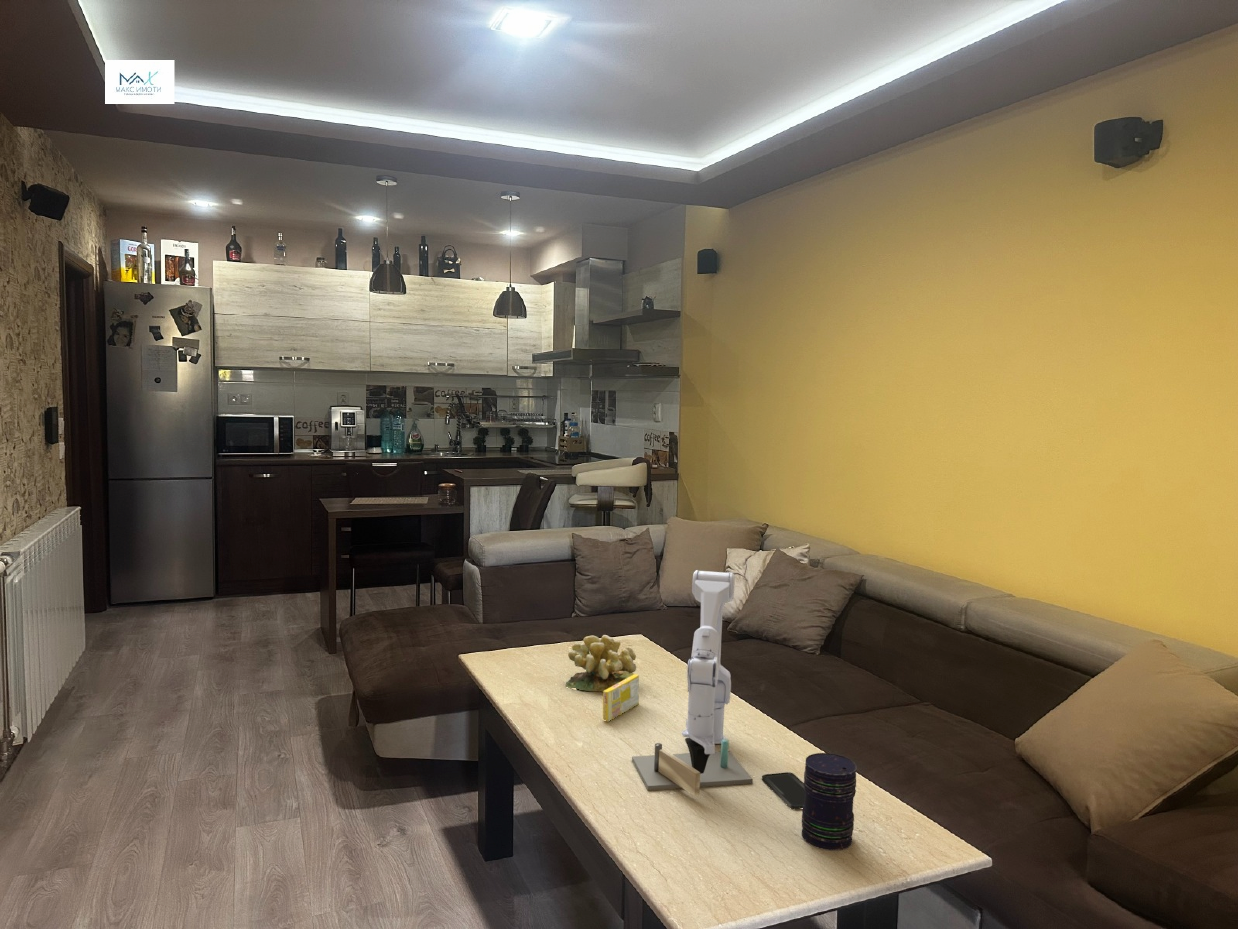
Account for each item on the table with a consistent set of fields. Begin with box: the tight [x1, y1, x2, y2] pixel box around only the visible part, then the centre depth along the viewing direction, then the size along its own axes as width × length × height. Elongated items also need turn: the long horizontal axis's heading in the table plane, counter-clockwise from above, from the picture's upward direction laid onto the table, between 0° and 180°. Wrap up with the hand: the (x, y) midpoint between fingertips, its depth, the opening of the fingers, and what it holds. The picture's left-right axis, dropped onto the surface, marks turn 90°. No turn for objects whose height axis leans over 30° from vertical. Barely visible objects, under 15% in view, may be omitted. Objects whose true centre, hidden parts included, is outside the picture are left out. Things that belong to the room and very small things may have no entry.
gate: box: [658, 748, 701, 797], centre depth 182 cm, size 1×13×5 cm, turn 32°
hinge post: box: [654, 742, 663, 772], centre depth 188 cm, size 2×2×7 cm
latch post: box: [720, 739, 729, 768], centre depth 192 cm, size 2×2×7 cm
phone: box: [761, 771, 805, 811], centre depth 183 cm, size 8×1×15 cm
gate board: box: [631, 750, 754, 791], centre depth 191 cm, size 15×24×1 cm, turn 102°
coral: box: [565, 634, 637, 692], centre depth 248 cm, size 19×23×15 cm
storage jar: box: [801, 752, 857, 852], centre depth 163 cm, size 10×10×15 cm
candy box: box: [602, 673, 640, 722], centre depth 225 cm, size 16×2×8 cm, turn 149°
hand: (698, 772), depth 184 cm, fingers closed
